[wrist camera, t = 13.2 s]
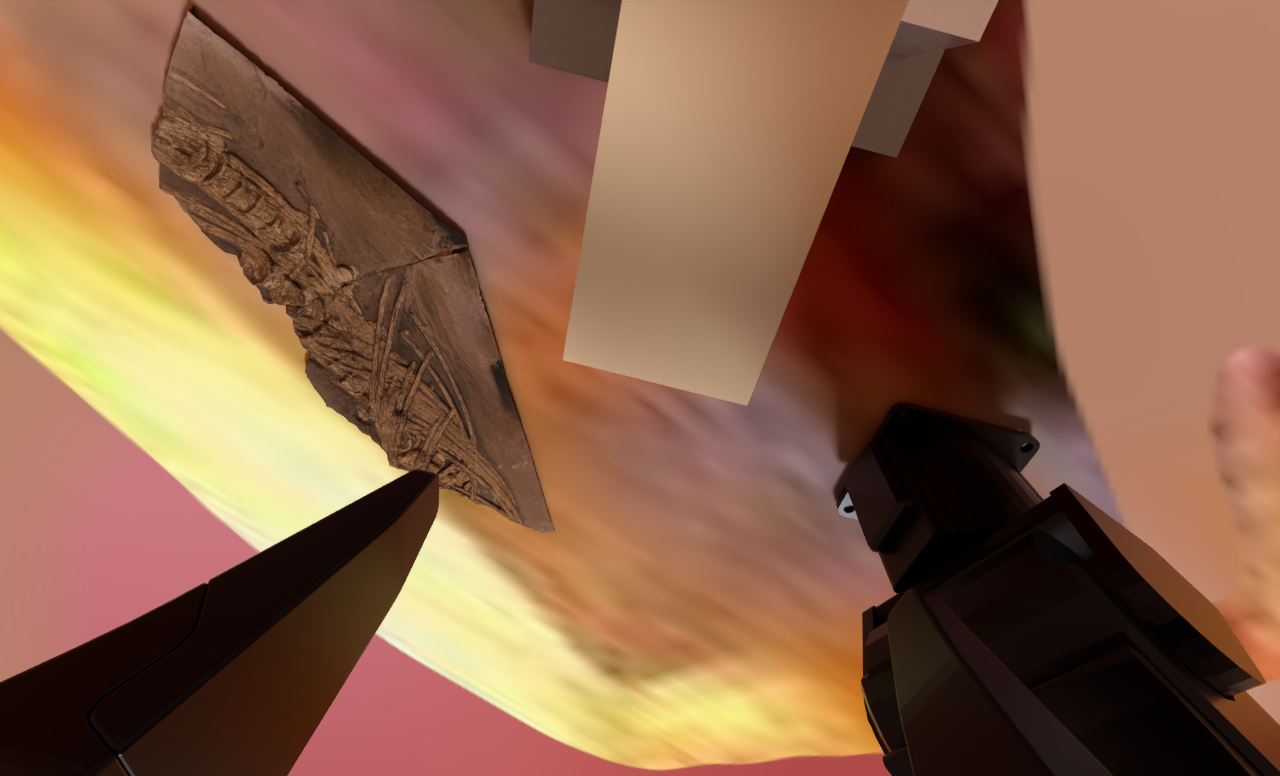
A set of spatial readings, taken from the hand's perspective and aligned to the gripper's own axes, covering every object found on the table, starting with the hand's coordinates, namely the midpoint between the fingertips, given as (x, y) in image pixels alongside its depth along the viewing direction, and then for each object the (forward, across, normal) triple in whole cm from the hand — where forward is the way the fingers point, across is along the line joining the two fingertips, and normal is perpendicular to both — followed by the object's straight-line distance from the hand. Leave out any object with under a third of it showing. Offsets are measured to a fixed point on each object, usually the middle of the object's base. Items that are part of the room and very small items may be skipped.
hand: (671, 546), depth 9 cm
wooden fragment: (+14, +12, +5) cm, 19 cm away
